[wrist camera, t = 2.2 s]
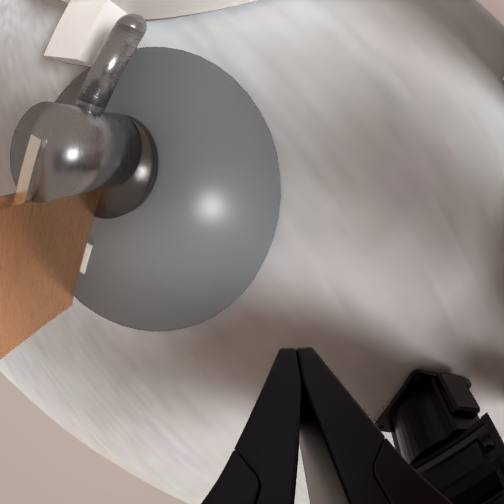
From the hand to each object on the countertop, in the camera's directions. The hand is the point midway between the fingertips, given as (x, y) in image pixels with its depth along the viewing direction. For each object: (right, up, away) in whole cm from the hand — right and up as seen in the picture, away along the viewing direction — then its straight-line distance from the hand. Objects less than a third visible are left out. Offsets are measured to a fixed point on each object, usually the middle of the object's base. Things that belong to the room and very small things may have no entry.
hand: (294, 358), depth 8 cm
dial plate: (-9, +7, +11) cm, 15 cm away
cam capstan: (-10, +7, +10) cm, 16 cm away
